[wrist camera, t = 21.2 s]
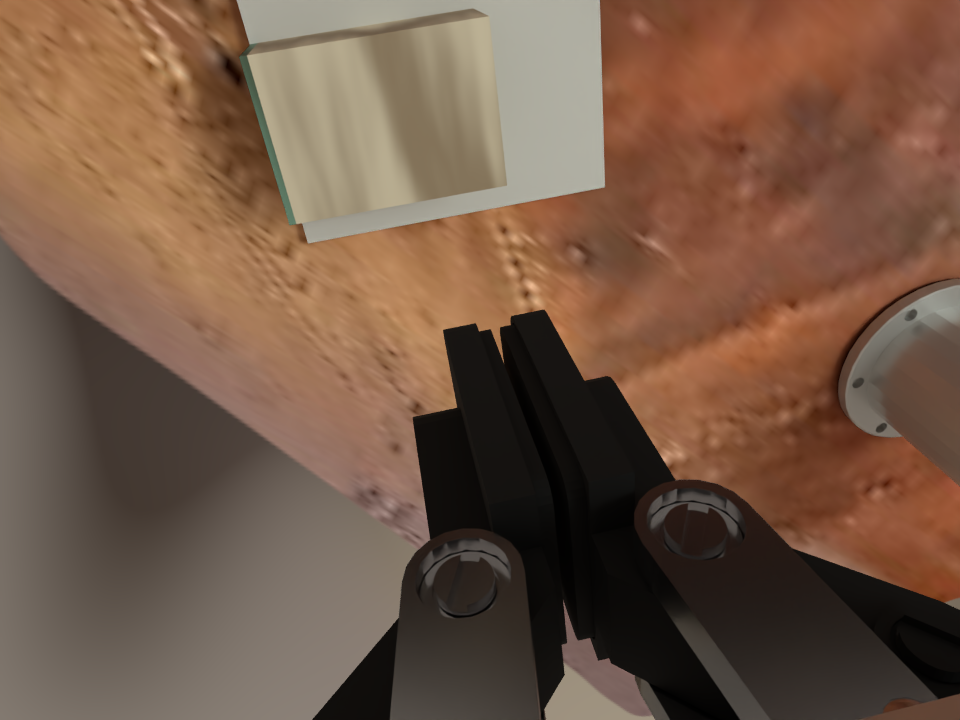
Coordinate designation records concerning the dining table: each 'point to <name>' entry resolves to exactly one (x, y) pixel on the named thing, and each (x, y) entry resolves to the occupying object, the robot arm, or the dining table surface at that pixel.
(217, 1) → the dining table surface
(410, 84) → the beige and green box
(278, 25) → the rubber mat
